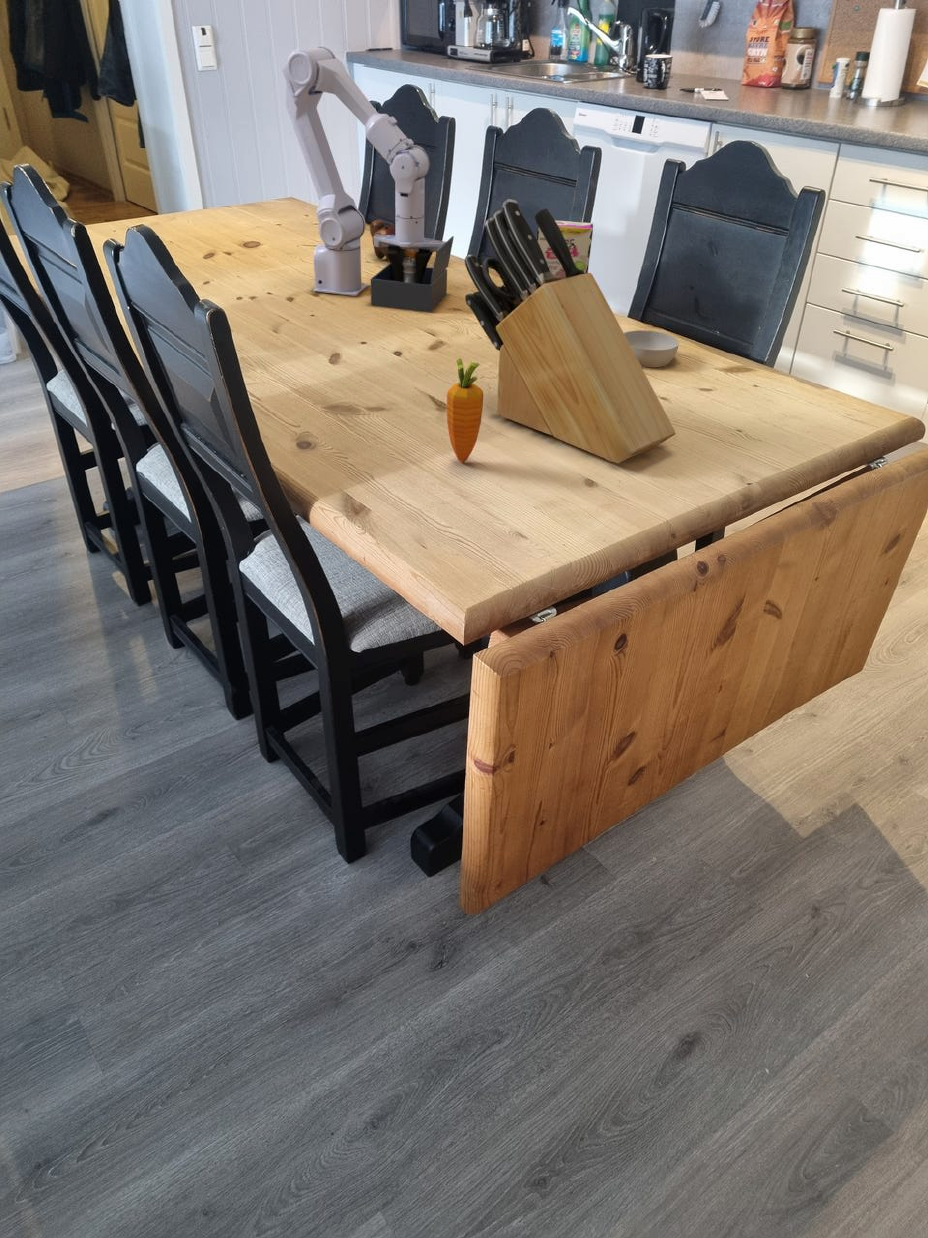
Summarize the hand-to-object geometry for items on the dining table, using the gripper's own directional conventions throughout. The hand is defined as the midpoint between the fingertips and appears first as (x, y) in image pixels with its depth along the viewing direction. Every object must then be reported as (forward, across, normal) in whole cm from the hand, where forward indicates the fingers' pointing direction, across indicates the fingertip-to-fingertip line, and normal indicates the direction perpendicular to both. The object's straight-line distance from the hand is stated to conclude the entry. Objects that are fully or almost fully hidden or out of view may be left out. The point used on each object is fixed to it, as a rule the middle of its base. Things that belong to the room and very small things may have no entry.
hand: (409, 285), depth 191 cm
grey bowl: (+3, +47, -18) cm, 50 cm away
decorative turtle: (-1, -12, +28) cm, 31 cm away
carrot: (+3, +29, -71) cm, 77 cm away
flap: (-6, +7, 0) cm, 9 cm away
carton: (+3, 0, 0) cm, 3 cm away
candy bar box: (+3, +30, +7) cm, 31 cm away
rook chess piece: (+3, 0, 0) cm, 3 cm away
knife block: (+3, +40, -53) cm, 66 cm away
